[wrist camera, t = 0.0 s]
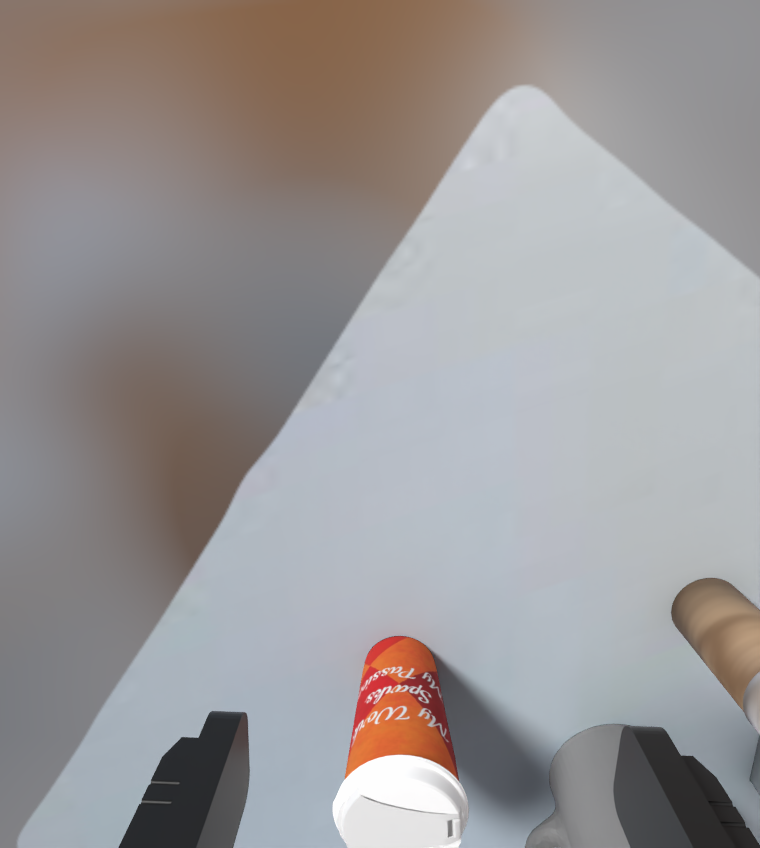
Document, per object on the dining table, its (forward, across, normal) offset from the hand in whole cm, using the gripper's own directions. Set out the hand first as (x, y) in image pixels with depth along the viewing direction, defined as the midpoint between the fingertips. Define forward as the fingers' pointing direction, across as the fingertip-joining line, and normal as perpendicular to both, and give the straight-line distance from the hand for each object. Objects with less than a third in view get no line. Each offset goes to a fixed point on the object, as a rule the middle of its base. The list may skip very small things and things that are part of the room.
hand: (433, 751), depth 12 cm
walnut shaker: (+29, +23, -14) cm, 40 cm away
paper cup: (+30, 0, -20) cm, 36 cm away
